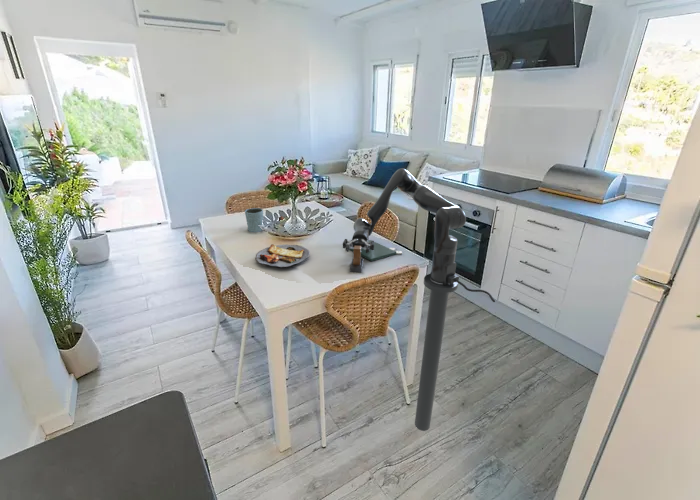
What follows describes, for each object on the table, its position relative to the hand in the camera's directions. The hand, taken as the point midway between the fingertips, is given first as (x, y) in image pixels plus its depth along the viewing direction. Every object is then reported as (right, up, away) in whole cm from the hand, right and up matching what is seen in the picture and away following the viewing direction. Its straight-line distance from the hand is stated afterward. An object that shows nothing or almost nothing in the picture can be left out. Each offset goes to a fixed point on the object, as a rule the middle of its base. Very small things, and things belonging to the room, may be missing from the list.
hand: (357, 250), depth 153 cm
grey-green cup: (-58, +12, +50) cm, 77 cm away
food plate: (-35, -4, +13) cm, 38 cm away
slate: (+8, 0, +23) cm, 25 cm away
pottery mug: (-43, +13, +54) cm, 70 cm away
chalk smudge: (+19, 0, +26) cm, 32 cm away
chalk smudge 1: (+21, -1, +22) cm, 31 cm away
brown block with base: (0, -8, +5) cm, 9 cm away
